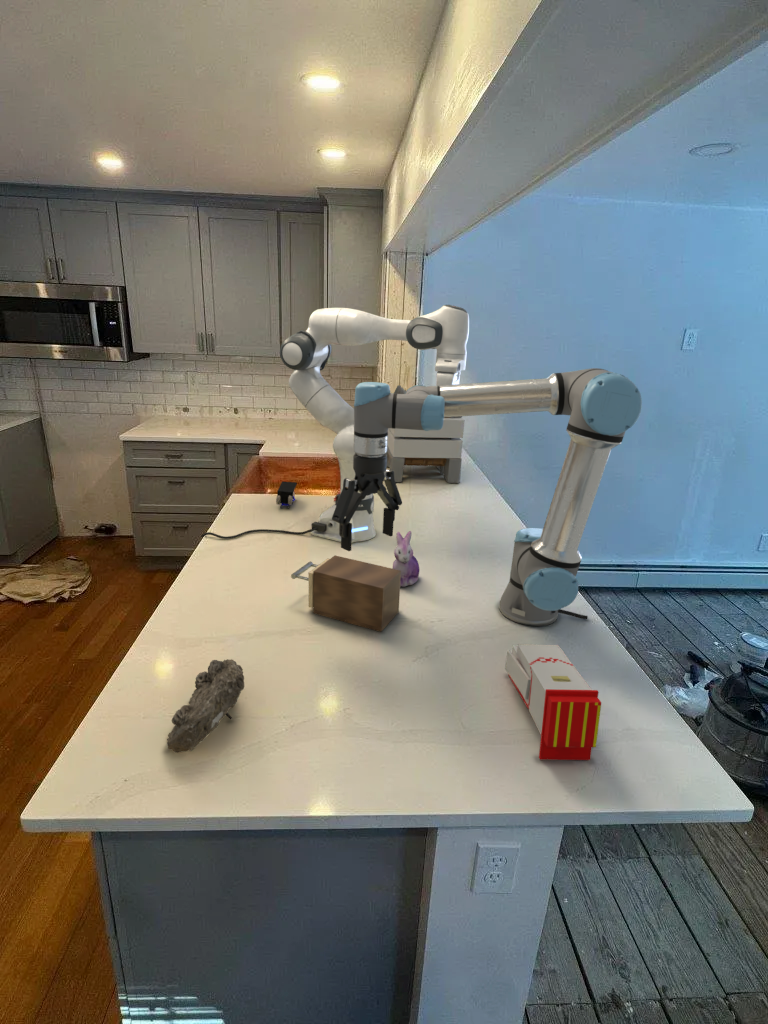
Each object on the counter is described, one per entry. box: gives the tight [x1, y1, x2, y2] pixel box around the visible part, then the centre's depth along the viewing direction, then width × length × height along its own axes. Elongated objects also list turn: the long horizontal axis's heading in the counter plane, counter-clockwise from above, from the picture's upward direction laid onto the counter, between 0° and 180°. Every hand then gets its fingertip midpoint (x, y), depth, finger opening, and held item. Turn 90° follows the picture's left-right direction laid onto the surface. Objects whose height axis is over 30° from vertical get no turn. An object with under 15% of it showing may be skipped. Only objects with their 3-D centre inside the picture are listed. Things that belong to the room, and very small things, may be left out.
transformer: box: [385, 384, 465, 484], centre depth 268 cm, size 34×33×41 cm
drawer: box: [290, 558, 330, 609], centre depth 147 cm, size 24×10×10 cm, turn 66°
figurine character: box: [275, 480, 298, 509], centre depth 223 cm, size 7×8×15 cm
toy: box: [504, 643, 602, 761], centre depth 112 cm, size 12×13×30 cm
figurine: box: [392, 530, 420, 588], centre depth 163 cm, size 9×10×15 cm
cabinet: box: [313, 554, 401, 633], centre depth 145 cm, size 19×11×12 cm, turn 66°
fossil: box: [166, 658, 245, 754], centre depth 106 cm, size 22×10×15 cm
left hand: (446, 410), depth 173 cm, fingers open, 8 cm apart
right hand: (367, 541), depth 133 cm, fingers open, 13 cm apart
